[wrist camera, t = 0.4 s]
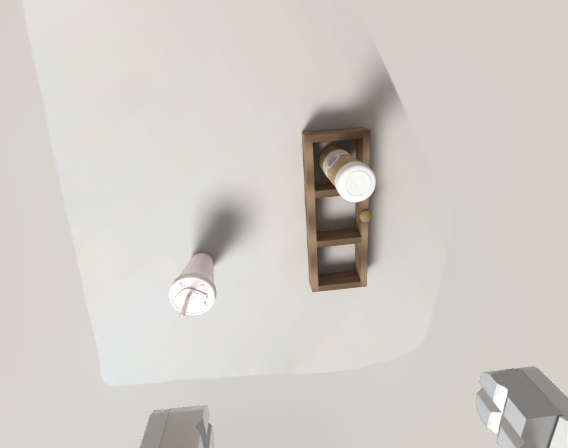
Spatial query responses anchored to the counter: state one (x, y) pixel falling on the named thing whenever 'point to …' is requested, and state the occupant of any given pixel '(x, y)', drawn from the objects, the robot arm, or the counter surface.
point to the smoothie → (194, 287)
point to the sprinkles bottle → (347, 174)
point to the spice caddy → (337, 236)
